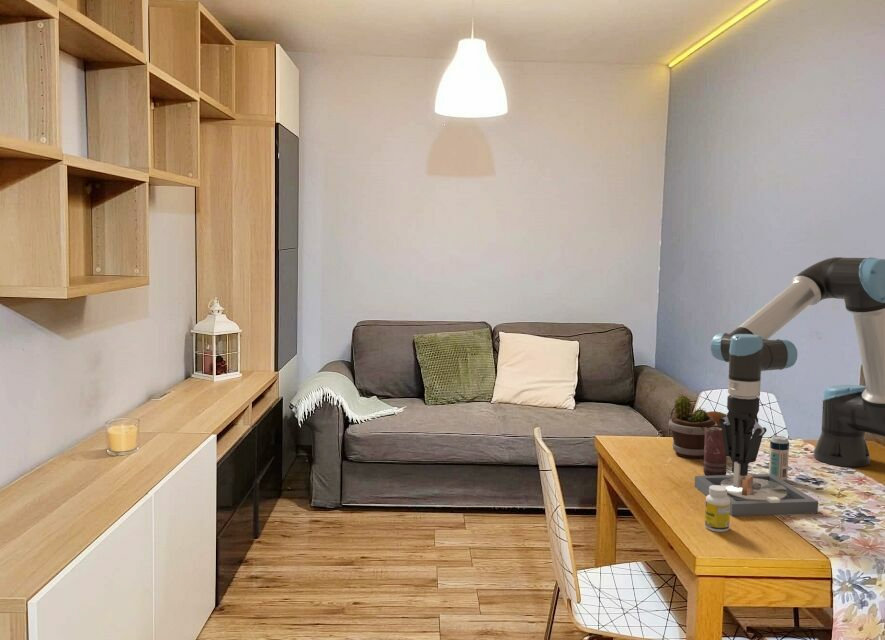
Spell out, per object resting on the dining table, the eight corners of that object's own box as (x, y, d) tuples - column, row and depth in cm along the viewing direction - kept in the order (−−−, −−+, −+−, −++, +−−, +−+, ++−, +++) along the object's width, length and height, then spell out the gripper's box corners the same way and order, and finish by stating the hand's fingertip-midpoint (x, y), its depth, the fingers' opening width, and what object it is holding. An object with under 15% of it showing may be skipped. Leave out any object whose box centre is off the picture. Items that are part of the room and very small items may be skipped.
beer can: (787, 477, 212) (789, 436, 210) (787, 482, 207) (789, 440, 206) (768, 475, 214) (770, 434, 212) (768, 480, 209) (770, 438, 208)
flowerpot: (721, 451, 238) (723, 390, 236) (710, 464, 225) (712, 399, 223) (675, 445, 246) (677, 385, 243) (661, 456, 233) (663, 393, 231)
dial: (731, 480, 206) (731, 459, 205) (793, 492, 196) (794, 470, 195) (712, 496, 193) (712, 473, 192) (777, 509, 183) (778, 486, 183)
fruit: (691, 440, 251) (692, 411, 250) (705, 433, 261) (706, 405, 260) (726, 446, 244) (727, 416, 243) (739, 438, 253) (740, 410, 252)
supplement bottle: (700, 524, 178) (702, 484, 177) (722, 523, 178) (724, 483, 177) (710, 533, 172) (712, 491, 171) (733, 532, 173) (735, 491, 172)
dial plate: (771, 484, 206) (772, 470, 206) (817, 513, 184) (818, 498, 184) (694, 486, 205) (694, 473, 204) (731, 516, 183) (732, 501, 182)
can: (728, 479, 211) (730, 430, 209) (705, 477, 212) (706, 429, 210) (725, 472, 217) (726, 425, 215) (702, 471, 218) (703, 424, 216)
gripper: (712, 392, 191) (708, 481, 194) (754, 402, 180) (750, 496, 183) (733, 389, 195) (728, 477, 198) (775, 399, 184) (770, 492, 186)
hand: (739, 486), depth 190 cm, fingers closed
